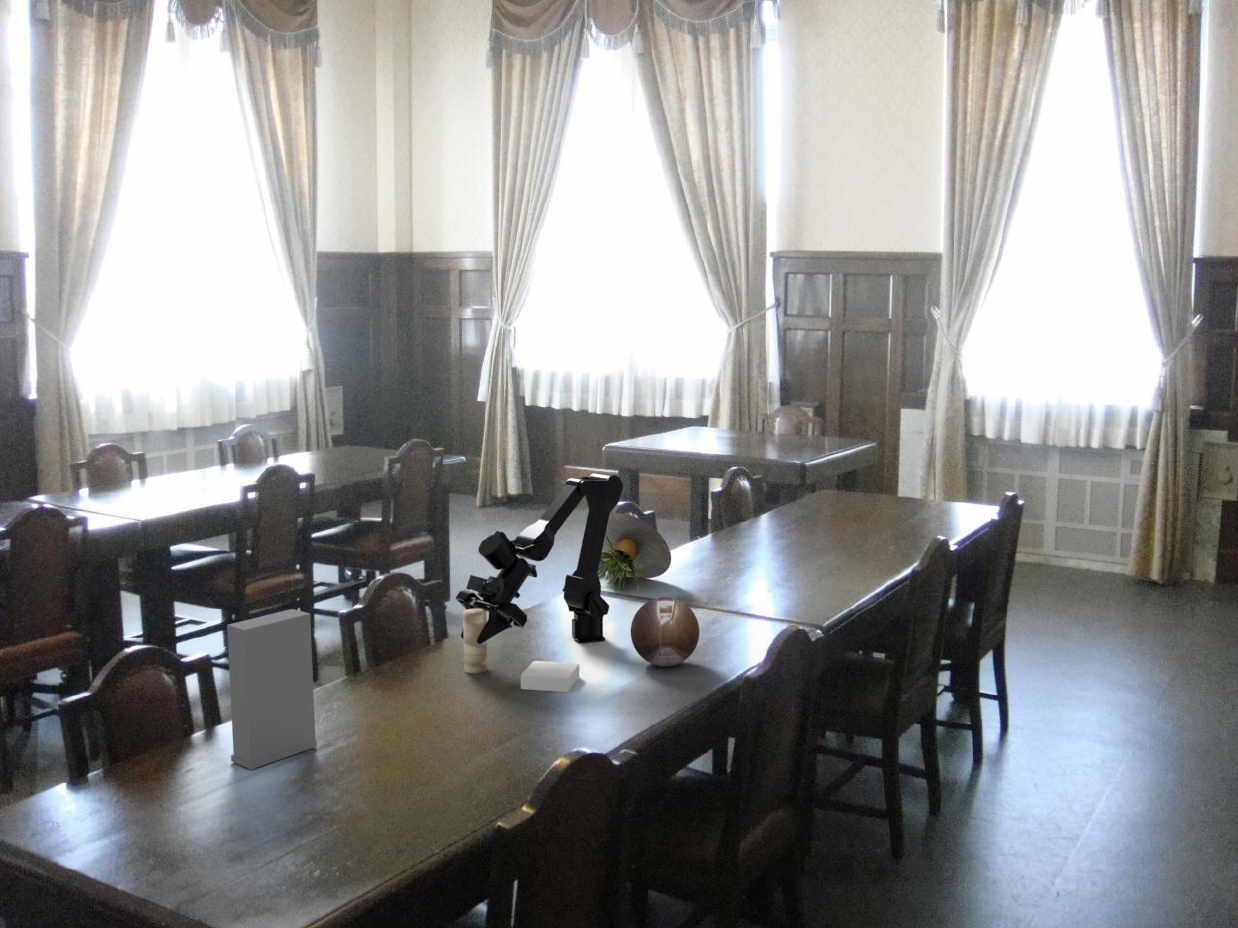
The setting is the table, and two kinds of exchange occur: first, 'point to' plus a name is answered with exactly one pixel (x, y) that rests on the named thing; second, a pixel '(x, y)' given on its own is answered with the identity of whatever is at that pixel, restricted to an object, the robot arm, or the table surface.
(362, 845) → the table surface
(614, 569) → the potted plant
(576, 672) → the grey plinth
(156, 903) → the table surface
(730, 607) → the table surface
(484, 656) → the birch column
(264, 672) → the upright grey box
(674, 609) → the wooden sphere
